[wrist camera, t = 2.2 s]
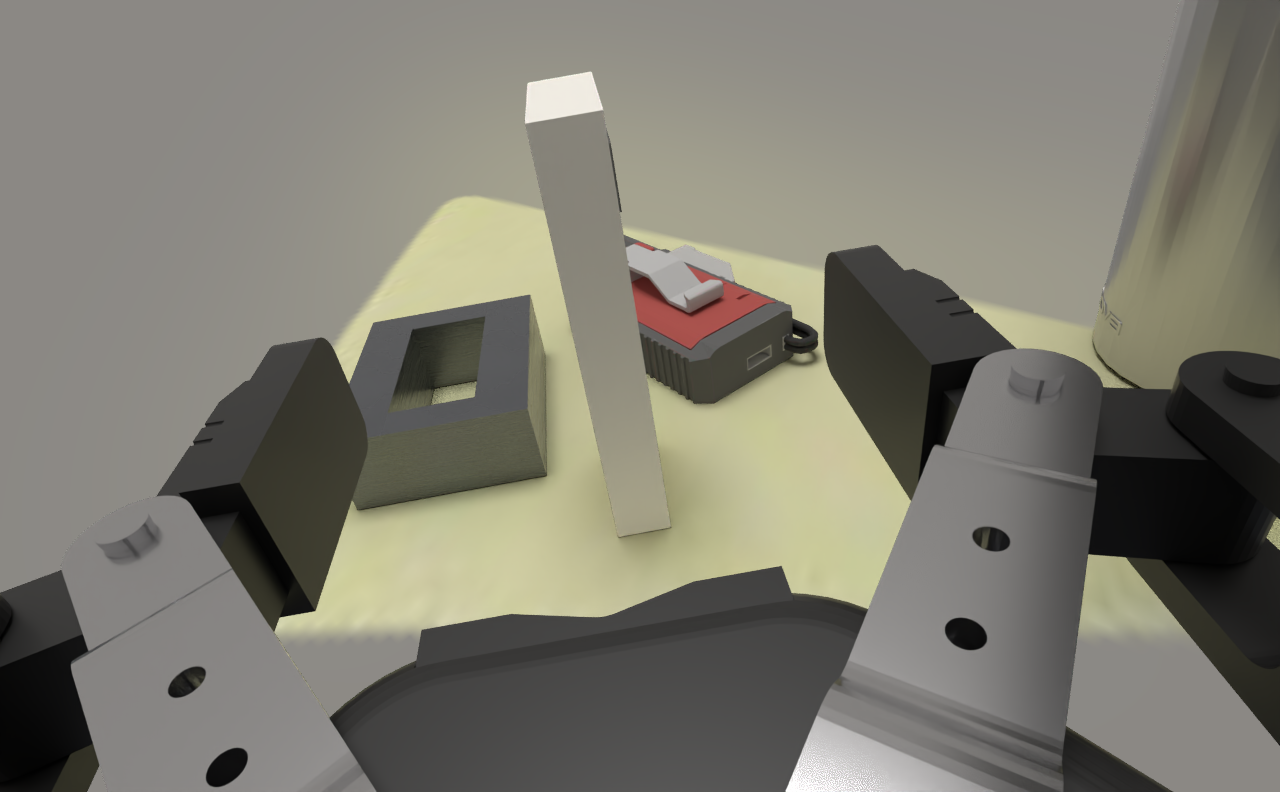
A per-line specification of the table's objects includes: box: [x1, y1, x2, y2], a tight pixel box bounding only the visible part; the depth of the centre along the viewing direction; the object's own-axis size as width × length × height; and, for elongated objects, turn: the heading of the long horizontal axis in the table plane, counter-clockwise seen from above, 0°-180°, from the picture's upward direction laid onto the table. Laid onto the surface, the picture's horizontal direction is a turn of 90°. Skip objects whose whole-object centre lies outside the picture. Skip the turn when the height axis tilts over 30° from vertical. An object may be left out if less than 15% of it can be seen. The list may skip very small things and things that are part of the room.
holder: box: [349, 295, 547, 510], centre depth 33 cm, size 10×8×4 cm
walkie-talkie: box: [624, 235, 818, 404], centre depth 39 cm, size 9×4×20 cm
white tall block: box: [525, 72, 671, 537], centre depth 24 cm, size 5×2×15 cm, turn 7°
